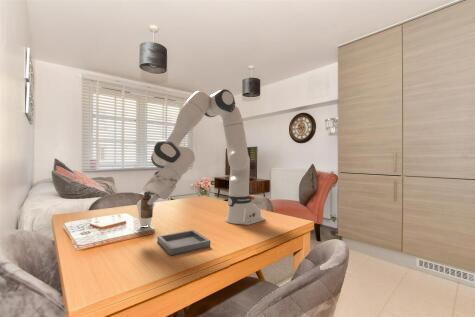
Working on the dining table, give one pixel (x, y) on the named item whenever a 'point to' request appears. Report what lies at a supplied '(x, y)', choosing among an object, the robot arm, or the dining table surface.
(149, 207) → the brown bottle
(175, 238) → the tray
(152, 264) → the dining table surface
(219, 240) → the dining table surface
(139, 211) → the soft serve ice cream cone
